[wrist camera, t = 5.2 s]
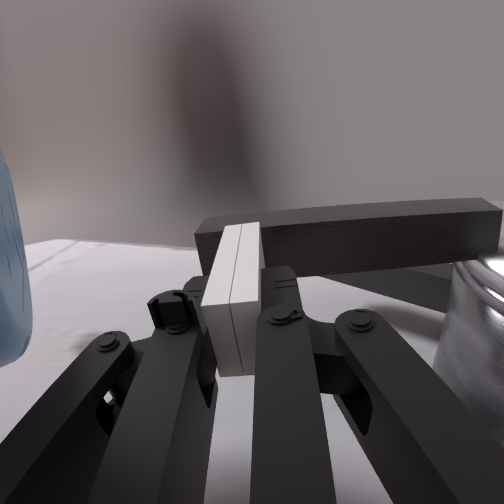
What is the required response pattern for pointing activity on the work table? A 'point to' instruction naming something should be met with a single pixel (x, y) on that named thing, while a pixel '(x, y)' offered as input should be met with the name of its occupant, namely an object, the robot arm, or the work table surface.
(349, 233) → the lid
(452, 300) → the pot
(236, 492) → the work table surface
